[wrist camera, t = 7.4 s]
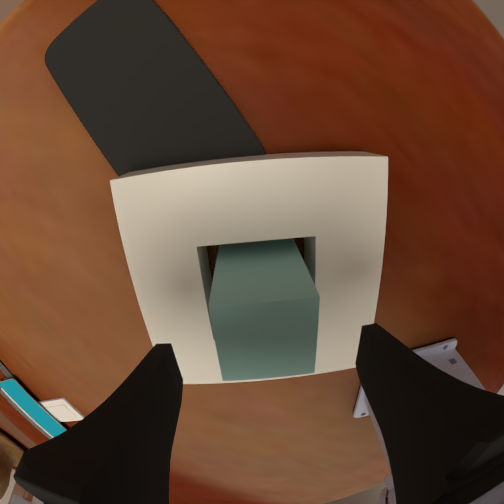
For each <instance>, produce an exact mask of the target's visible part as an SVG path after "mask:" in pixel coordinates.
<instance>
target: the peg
mask: <svg viewBox="0 0 504 504" xmlns="http://www.w3.org/2000/svg"><path fill="white" fill-rule="evenodd" d="M319 304H320V296H319V294H318V291H317V289H316V287H315V285H314V282H313V280H312V278H311V276H310V273H309V271H308V269H307V267H306V265H305V263H304V260H303V258H302V256H301V254H300V252H299V249H298V247H297V245H296V243H295V241H294V239H293V238H288V239H277V240H265V241H254V242H243V243H232V244H221V245H219V248H218V253H217V259H216V265H215V270H214V276H213V282H212V287H211V293H210V299H209V305H208V307H209V312H210V318H211V324H212V329H213V334H214V340H215V345H216V350H217V355H218V360H219V365H220V370H221V375H222V379H223V381H232V380H249V379H263V378H274V377H284V376H293V375H302V374H309V373H314V372H315V361H316V349H317V336H318V321H319Z"/></svg>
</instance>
